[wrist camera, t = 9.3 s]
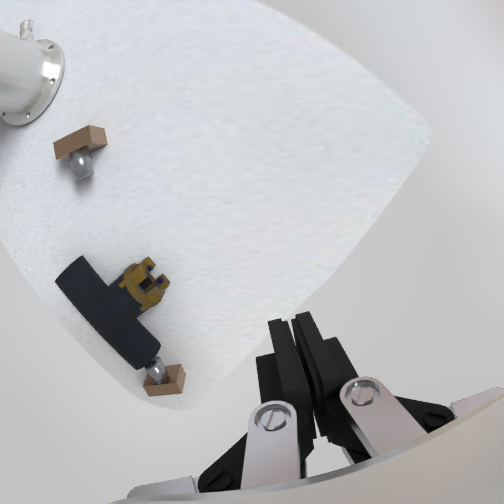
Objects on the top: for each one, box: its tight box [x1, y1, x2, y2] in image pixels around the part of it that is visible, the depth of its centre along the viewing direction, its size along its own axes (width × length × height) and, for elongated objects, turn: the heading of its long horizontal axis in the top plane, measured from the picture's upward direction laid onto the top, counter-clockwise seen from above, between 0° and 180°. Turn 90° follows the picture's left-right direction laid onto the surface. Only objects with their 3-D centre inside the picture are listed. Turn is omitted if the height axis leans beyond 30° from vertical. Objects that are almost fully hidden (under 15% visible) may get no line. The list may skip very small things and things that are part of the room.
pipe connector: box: [55, 256, 170, 370], centre depth 32 cm, size 12×5×15 cm
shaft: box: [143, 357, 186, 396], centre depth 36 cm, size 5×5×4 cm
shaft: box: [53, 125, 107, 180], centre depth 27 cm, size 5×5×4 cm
